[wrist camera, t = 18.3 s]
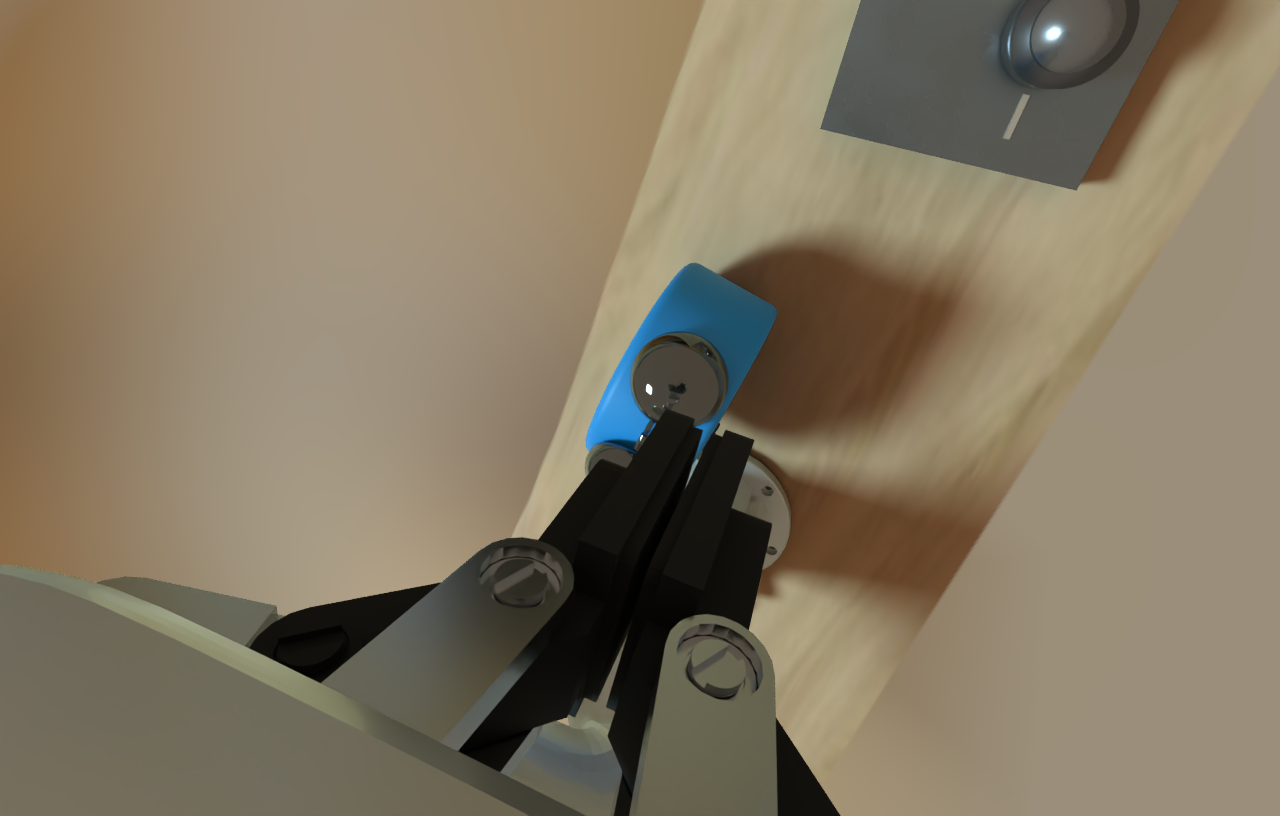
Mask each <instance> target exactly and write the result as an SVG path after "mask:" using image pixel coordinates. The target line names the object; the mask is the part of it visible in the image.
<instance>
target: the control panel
mask: <svg viewBox="0 0 1280 816" xmlns="http://www.w3.org/2000/svg"><path fill="white" fill-rule="evenodd" d="M1022 1H1023V0H861V2H860V5H859V8H858V11H857V15H856V18H855V21H854V24H853V27H852V30H851V34H850V37H849V40H848V43H847V46H846V49H845V53H844V56H843V59H842V62H841V65H840V68H839V71H838V75H837V78H836V81H835V84H834V87H833V90H832V94H831V97H830V100H829V103H828V106H827V109H826V112H825V116H824V119H823V122H822V125H821V128H820V129H824V130H828V131H832V132H836V133H840V134H844V135H848V136H853V137H857V138H861V139H865V140H869V141H873V142H878V143H882V144H886V145H890V146H894V147H898V148H902V149H907V150H911V151H915V152H919V153H923V154H927V155H931V156H936V157H940V158H944V159H948V160H952V161H956V162H960V163H965V164H969V165H973V166H977V167H981V168H985V169H990V170H994V171H998V172H1002V173H1006V174H1010V175H1014V176H1019V177H1023V178H1027V179H1031V180H1035V181H1039V182H1043V183H1048V184H1052V185H1056V186H1060V187H1064V188H1068V189H1073V190H1077V188H1078V187H1079V185H1080V183H1081V181H1082V179H1083V177H1084V176H1085V174H1086V172H1087V170H1088V168H1089V166H1090V164H1091V163H1092V161H1093V159H1094V157H1095V155H1096V153H1097V152H1098V150H1099V148H1100V146H1101V144H1102V142H1103V141H1104V139H1105V137H1106V135H1107V133H1108V131H1109V130H1110V128H1111V126H1112V124H1113V122H1114V120H1115V118H1116V117H1117V115H1118V113H1119V111H1120V109H1121V107H1122V106H1123V104H1124V102H1125V100H1126V98H1127V96H1128V95H1129V93H1130V91H1131V89H1132V87H1133V85H1134V84H1135V82H1136V80H1137V78H1138V76H1139V74H1140V72H1141V71H1142V69H1143V67H1144V65H1145V63H1146V61H1147V60H1148V58H1149V56H1150V54H1151V52H1152V50H1153V49H1154V47H1155V45H1156V43H1157V41H1158V39H1159V37H1160V36H1161V34H1162V32H1163V30H1164V28H1165V26H1166V25H1167V23H1168V21H1169V19H1170V17H1171V15H1172V14H1173V12H1174V10H1175V8H1176V6H1177V4H1178V3H1179V1H1180V0H1139V5H1140V12H1139V20H1138V25H1137V28H1136V31H1135V33H1134V36H1133V38H1132V40H1131V42H1130V44H1129V45H1128V47H1127V49H1126V50H1125V51H1124V53H1123V54H1122V55H1121V57H1120V58H1119V59H1118V60H1117V61H1116V62H1115V63H1114V64H1113V65H1112V66H1111V67H1110V68H1109V69H1108V70H1106V71H1105V72H1104V73H1102V74H1101V75H1099V76H1098V77H1096V78H1094V79H1093V80H1091V81H1089V82H1087V83H1084V84H1082V85H1079V86H1076V87H1072V88H1066V89H1034V88H1029V87H1026V86H1023V85H1021V84H1019V83H1018V82H1016V81H1015V80H1014V79H1013V78H1012V77H1011V76H1010V75H1009V74H1008V72H1007V71H1006V69H1005V67H1004V64H1003V61H1002V57H1001V41H1002V36H1003V32H1004V29H1005V26H1006V24H1007V22H1008V20H1009V18H1010V16H1011V15H1012V13H1013V12H1014V10H1015V9H1016V8H1017V6H1018V5H1019V4H1020V3H1021V2H1022Z"/></svg>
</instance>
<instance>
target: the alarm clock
mask: <svg viewBox="0 0 1280 816" xmlns="http://www.w3.org/2000/svg"><path fill="white" fill-rule="evenodd" d="M776 316H777V310H776V308H775V306H773V305H772V304H770V303H768V302H766V301H765V300H763V299H761V298H759V297H757V296H756V295H754V294H752V293H750V292H749V291H747V290H745V289H743V288H741V287H740V286H738V285H736V284H734V283H732V282H731V281H729V280H727V279H725V278H723V277H722V276H720V275H718V274H716V273H715V272H713V271H711V270H709V269H707V268H706V267H704V266H702V265H700V264H698V263H691V264H689V265H687V266H685V267H684V268H683V269H682V270H681V271H680V272H679V273H678V274H677V275H676V276H675V277H674V279H673V280H672V281H671V282H670V284H669V285H668V286H667V288H666V289H665V290H664V292H663V293H662V295H661V296H660V297H659V299H658V300H657V302H656V303H655V305H654V306H653V308H652V309H651V311H650V312H649V314H648V315H647V317H646V319H645V320H644V322H643V323H642V325H641V327H640V328H639V330H638V332H637V333H636V335H635V337H634V338H633V340H632V342H631V343H630V345H629V347H628V349H627V350H626V352H625V354H624V356H623V358H622V359H621V361H620V363H619V365H618V367H617V369H616V370H615V372H614V374H613V376H612V378H611V380H610V382H609V384H608V386H607V388H606V390H605V392H604V394H603V396H602V398H601V400H600V403H599V405H598V407H597V409H596V412H595V414H594V416H593V419H592V421H591V424H590V427H589V430H588V433H587V437H586V447H587V449H588V451H589V453H588V455H587V457H586V462H585V475H586V476H587V475H588V474H589V472H590V471H591V470H592V469H593V467H594V466H595V465H596V463H597V462H598V461H599V460H601V459H605V460H607V461H610V462H612V463H615V464H618V465H620V466H623V467H626V468H627V467H628V465H629V464H630V462H631V461H632V459H633V458H634V456H635V455H636V453H637V452H638V450H639V449H640V447H641V446H642V444H643V443H644V441H645V440H646V438H647V437H648V435H649V434H650V432H651V431H652V429H653V428H654V426H655V425H656V423H657V422H658V420H659V419H660V417H661V416H662V414H663V413H664V411H665V410H666V409H669V410H672V411H675V412H677V413H680V414H683V415H686V416H689V417H691V418H694V419H695V421H694V426H693V427H696V428H699V429H702V430H703V433H702V437H701V440H700V443H699V446H698V449H697V453H696V456H695V459H694V462H695V461H696V459H697V457H698V456H699V454H700V453H701V451H703V450H704V448H705V446H706V444H707V442H708V440H709V438H710V436H711V434H712V433H713V434H716V433H715V432H716V431H717V429H718V428H719V426H720V423H719V422H720V420H721V418H722V416H723V415H724V413H725V411H726V410H727V408H728V406H729V405H730V403H731V401H732V399H733V398H734V396H735V394H736V393H737V391H738V389H739V387H740V386H741V384H742V382H743V380H744V379H745V377H746V375H747V373H748V371H749V370H750V368H751V366H752V364H753V362H754V361H755V359H756V357H757V355H758V353H759V351H760V350H761V348H762V346H763V344H764V342H765V340H766V338H767V336H768V334H769V332H770V330H771V328H772V326H773V324H774V321H775V319H776ZM694 462H693V464H694Z"/></svg>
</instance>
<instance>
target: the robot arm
mask: <svg viewBox="0 0 1280 816" xmlns="http://www.w3.org/2000/svg"><path fill="white" fill-rule="evenodd" d="M694 421H695V419H694V418H691V417H689V416H686V415H683V414H680V413H677V412H675V411H672V410H669V409H666V410H665V411H664V413H663V414H662V416H661V417H660V419H659V420H658V422H657V423H656V425H655V426H654V428H653V429H652V431H651V432H650V434H649V435H648V437H647V438H646V440H645V441H644V443H643V444H642V446H641V447H640V449H639V450H638V452H637V453H636V455H635V456H634V458H633V459H632V461H631V462H630V464H629V465H628V467H627V468H626V467H623V466H620V465H618V464H615V463H612V462H610V461H607V460H605V459H601V460H599V461H598V462H597V463H596V465H595V466H594V467H593V469H592V470H591V471H590V472H589V474H588V475H587V476H586V478H585V479H584V480H583V482H582V483H581V484H580V486H579V487H578V488H577V490H576V491H575V492H574V494H573V495H572V496H571V497H570V499H569V500H568V501H567V503H566V504H565V505H564V507H563V508H562V509H561V511H560V512H559V513H558V515H557V516H556V517H555V518H554V520H553V521H552V522H551V524H550V525H549V526H548V528H547V529H546V530H545V532H544V533H543V534H542V536H541V537H540V538H539V540H536V539H530V538H523V537H521V538H506V539H503V540H500V541H496V542H493V543H491V544H489V545H488V546H486V547H485V548H483V549H481V550H480V551H479V552H477V553H476V554H475V555H474V556H472V558H470V559H469V560H468V561H466V563H464V564H463V565H462V566H460V567H459V568H458V569H457V570H456V571H454V572H453V573H452V574H451V575H450V576H449V577H448V578H446V579H445V580H444V581H443V582H442V583H436V584H431V585H426V586H420V587H415V588H410V589H404V590H399V591H394V592H389V593H384V594H378V595H373V596H368V597H362V598H357V599H352V600H347V601H342V602H336V603H331V604H325V605H320V606H315V607H310V608H306V609H303V610H300V611H296V612H293V613H290V614H288V615H287V616H282V615H278V614H277V607H276V606H275V605H270V604H265V603H260V602H256V601H251V600H247V599H242V598H237V597H233V596H228V595H223V594H219V593H214V592H209V591H204V590H200V589H195V588H191V587H186V586H181V585H177V584H172V583H167V582H162V581H157V580H153V579H148V578H140V577H121V578H115V579H109V580H104V581H100V582H98V583H94V582H91V581H88V580H84V579H81V578H78V577H74V576H69V575H64V574H60V573H54V572H49V571H45V570H39V569H33V568H28V567H23V566H13V565H0V816H840V814H839V813H838V811H837V810H836V808H835V807H834V805H833V804H832V802H831V801H830V799H829V797H828V796H827V794H826V793H825V791H824V790H823V788H822V787H821V785H820V784H819V782H818V781H817V779H816V778H815V776H814V775H813V773H812V772H811V770H810V769H809V767H808V766H807V764H806V762H805V761H804V759H803V758H802V756H801V755H800V753H799V752H798V750H797V749H796V747H795V746H794V744H793V743H792V741H791V740H790V738H789V737H788V735H787V734H786V732H785V731H784V729H783V727H782V726H781V724H780V723H779V721H778V720H777V718H776V706H775V674H774V669H773V664H772V660H771V658H770V656H769V654H768V652H767V650H766V649H765V647H764V645H763V644H762V643H761V642H760V641H759V640H758V639H757V638H756V636H755V635H754V634H753V633H751V632H750V631H749V626H750V622H751V618H752V613H753V609H754V604H755V600H756V596H757V591H758V587H759V582H760V578H761V573H762V570H764V569H765V568H767V567H769V566H770V565H771V564H772V563H773V562H774V561H776V560H777V559H778V558H779V556H780V555H781V553H782V552H783V550H784V549H785V547H786V544H787V541H788V538H789V534H790V528H791V509H790V505H789V502H788V498H787V495H786V493H785V492H784V490H783V488H782V486H781V484H780V483H779V481H778V480H777V479H776V477H775V476H774V475H773V474H772V472H771V471H770V470H769V469H767V468H766V467H765V466H764V465H763V464H762V463H761V462H760V461H758V460H757V459H755V458H753V457H752V456H750V452H751V449H752V446H753V443H754V440H753V439H750V438H747V437H745V436H742V435H739V434H736V433H733V432H731V431H728V430H725V432H724V435H723V437H721V436H718V435H716V434H713V433H712V434H711V436H710V438H709V440H708V442H707V444H706V446H705V448H704V450H703V452H702V451H701V453H700V454H699V456H698V457H697V459H696V461H695V462H694V459H695V456H696V453H697V449H698V446H699V443H700V440H701V437H702V433H703V430H702V429H699V428H696V427H693V426H694ZM693 462H694V464H693ZM768 486H769V487H768ZM567 717H568V721H569V726H567V725H565V724H563V723H560V722H558V721H557V720H560V719H563V718H567Z"/></svg>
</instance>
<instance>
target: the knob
mask: <svg viewBox="0 0 1280 816" xmlns="http://www.w3.org/2000/svg"><path fill="white" fill-rule="evenodd" d="M1139 12H1140V5H1139V0H1023V1H1022V2H1021V3H1020V4H1019V5H1018V6H1017V8H1016V9H1015V10H1014V12H1013V13H1012V15H1011V16H1010V18H1009V20H1008V22H1007V24H1006V26H1005V29H1004V32H1003V36H1002V41H1001V57H1002V61H1003V64H1004V67H1005V69H1006V71H1007V72H1008V74H1009V75H1010V76H1011V77H1012V78H1013V79H1014V80H1015V81H1016V82H1018V83H1019V84H1021V85H1023V86H1026V87H1029V88H1034V89H1066V88H1072V87H1076V86H1079V85H1082V84H1084V83H1087V82H1089V81H1091V80H1093V79H1094V78H1096V77H1098V76H1099V75H1101V74H1102V73H1104V72H1105V71H1106V70H1108V69H1109V68H1110V67H1111V66H1112V65H1113V64H1114V63H1115V62H1116V61H1117V60H1118V59H1119V58H1120V57H1121V55H1122V54H1123V53H1124V51H1125V50H1126V49H1127V47H1128V45H1129V44H1130V42H1131V40H1132V38H1133V36H1134V33H1135V31H1136V28H1137V25H1138V20H1139Z"/></svg>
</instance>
